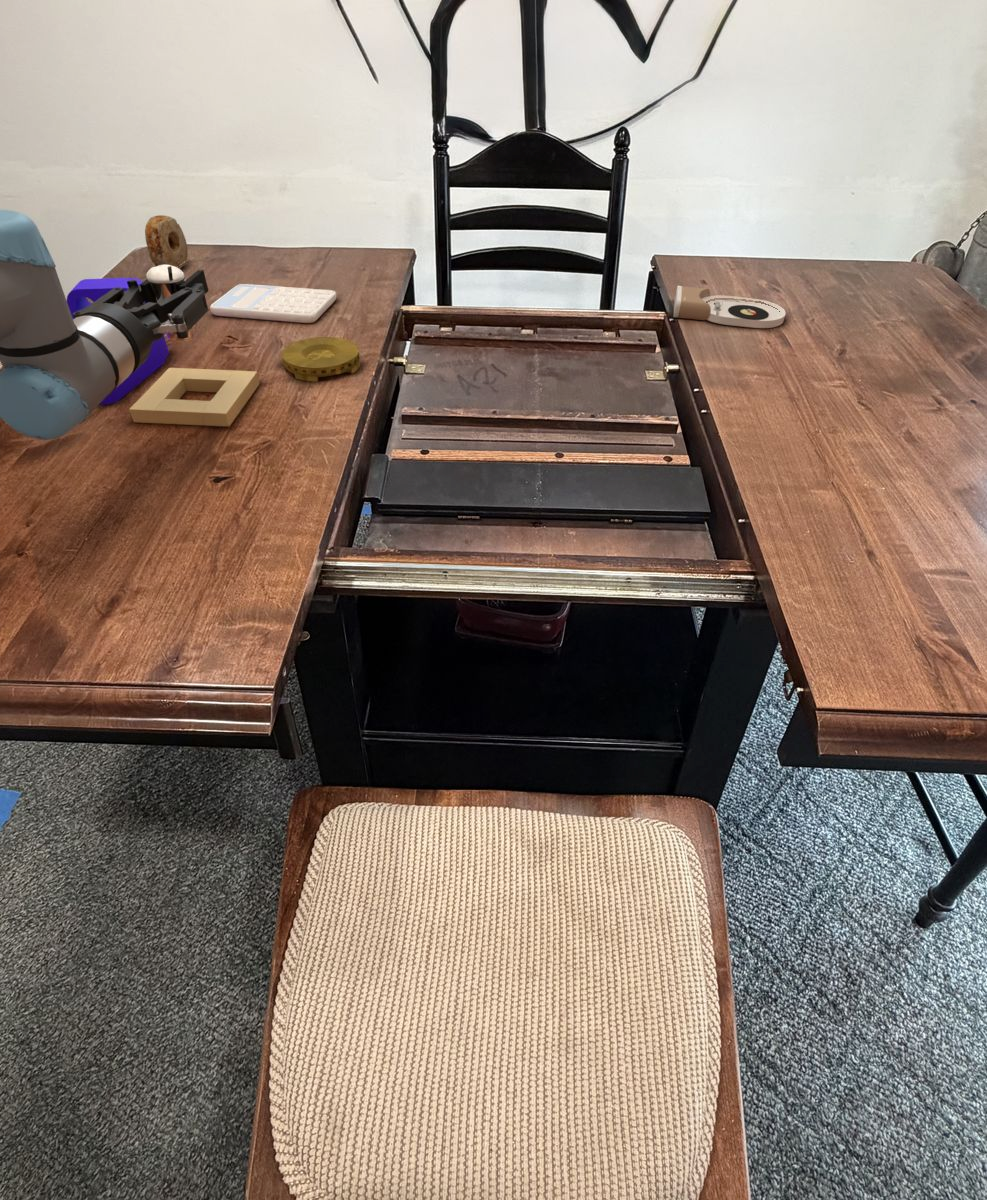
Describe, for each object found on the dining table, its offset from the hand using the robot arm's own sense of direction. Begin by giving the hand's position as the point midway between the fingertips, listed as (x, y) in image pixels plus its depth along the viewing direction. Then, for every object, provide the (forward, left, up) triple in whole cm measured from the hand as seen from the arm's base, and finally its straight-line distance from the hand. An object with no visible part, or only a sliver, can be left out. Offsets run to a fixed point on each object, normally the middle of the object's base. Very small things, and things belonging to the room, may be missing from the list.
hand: (184, 280), depth 97 cm
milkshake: (+1, -5, -6) cm, 8 cm away
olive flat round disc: (+13, +12, -16) cm, 23 cm away
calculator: (-6, +33, -16) cm, 37 cm away
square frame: (+1, -5, -15) cm, 16 cm away
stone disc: (-36, +47, -16) cm, 62 cm away
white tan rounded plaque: (+76, +53, -16) cm, 94 cm away
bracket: (-15, -1, -16) cm, 22 cm away
